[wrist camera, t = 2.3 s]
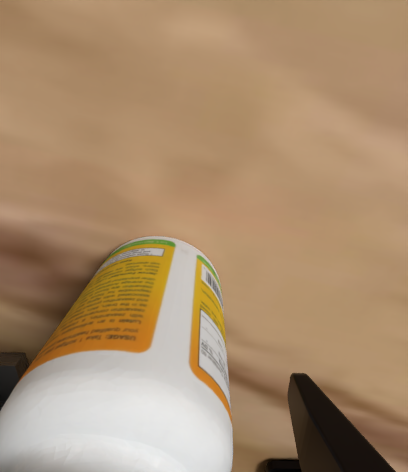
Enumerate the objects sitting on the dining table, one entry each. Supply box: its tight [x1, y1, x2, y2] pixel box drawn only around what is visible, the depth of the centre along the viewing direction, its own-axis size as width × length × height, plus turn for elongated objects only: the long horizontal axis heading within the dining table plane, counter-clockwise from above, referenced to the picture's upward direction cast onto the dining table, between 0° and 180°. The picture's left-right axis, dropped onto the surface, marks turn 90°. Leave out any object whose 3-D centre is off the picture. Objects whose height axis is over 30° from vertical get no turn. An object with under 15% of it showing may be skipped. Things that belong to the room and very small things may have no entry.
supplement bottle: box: [0, 236, 233, 472], centre depth 8 cm, size 5×5×10 cm
